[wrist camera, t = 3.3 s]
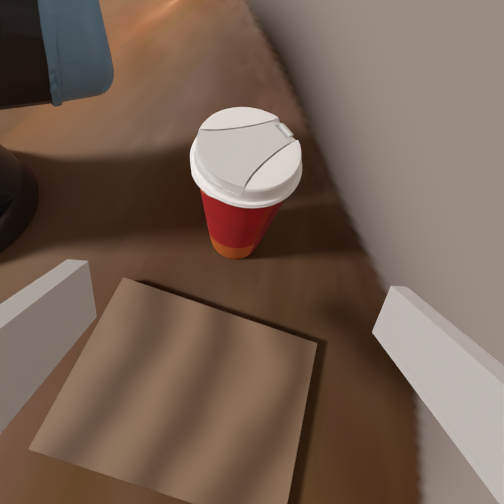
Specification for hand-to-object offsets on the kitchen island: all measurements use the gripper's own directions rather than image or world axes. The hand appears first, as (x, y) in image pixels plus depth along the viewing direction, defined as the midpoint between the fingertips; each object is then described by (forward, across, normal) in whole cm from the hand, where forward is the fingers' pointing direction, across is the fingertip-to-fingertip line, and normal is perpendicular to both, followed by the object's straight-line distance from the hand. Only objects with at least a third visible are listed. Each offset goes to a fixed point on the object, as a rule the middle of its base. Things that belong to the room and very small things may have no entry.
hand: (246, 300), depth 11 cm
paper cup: (+18, 0, -4) cm, 18 cm away
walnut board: (+7, -3, -14) cm, 16 cm away
